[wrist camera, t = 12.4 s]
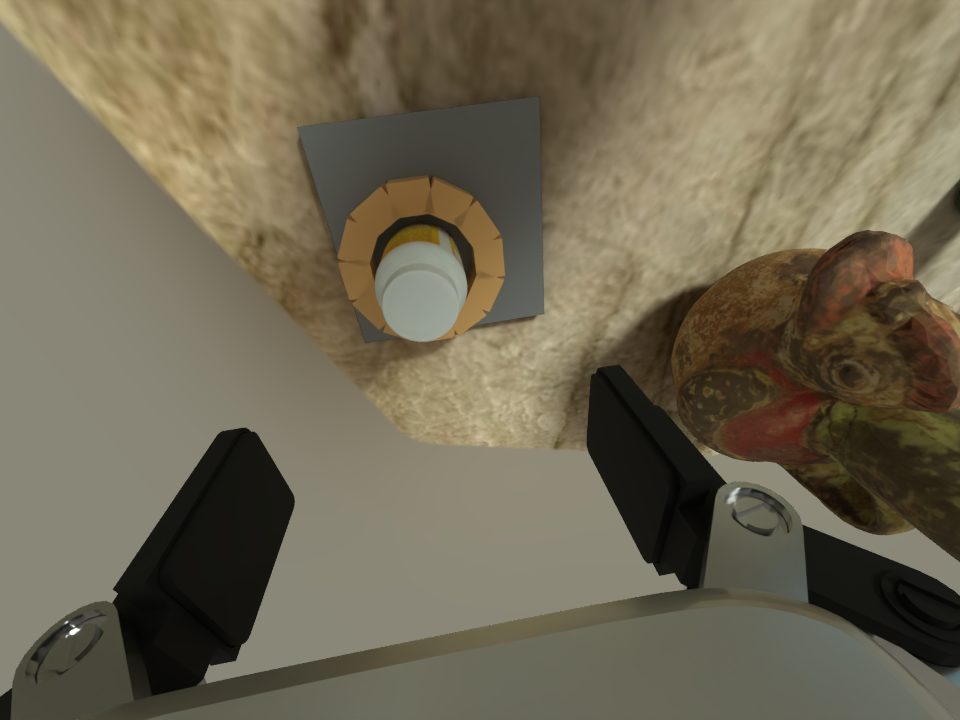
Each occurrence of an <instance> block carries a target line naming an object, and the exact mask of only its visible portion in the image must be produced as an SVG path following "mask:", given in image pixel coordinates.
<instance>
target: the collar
mask: <svg viewBox="0 0 960 720" xmlns="http://www.w3.org/2000/svg"><path fill="white" fill-rule="evenodd" d="M424 214H431V215H433V216H435V217H438V218H440V219H442V220H445V221H447V222H449V223H452V224H454V225H456V226H457V227H458V228H459V230H460V231H461V232H462V234H463V235H464V236H465V238H466V239H467V240H468V242H469V243H470V249H471V257H472V267H471V270H470V272H469V274H468V277H467V297H466V300H465V303H464V306H463V308H462V310H461V311H460V313H459V314H458V317H457V320H456V322H455V324H454V325H453V327H452V328H451V329H450V330H449V331H448V332H447V333H446V334H444V335H443V336H441V337H440V338H438V339H435V340H432V341H436V340H442V339H448V338H454V337H455V332H454V330H455V331H456V332H457V334H458V335H459V336H460V335H461V334H462V333H464V332H465V331H466V330H468V329H469V328H470V327H472V326H473V325H474V324H476V323H477V322H478V321H480V320H481V319H482V318H484V317H485V316H487V315H486V312H485V311H488V312H490V310H491V308H492V305H493V303H494V301H495V299H496V297H497V295H498V293H499V290H500V288H501V286H502V284H503V282H504V279H503V277H502V276H505V268H504V256H503V243H502V238H501V237H500V232H499V231H498V229H497V228H496V227H495V225H494V224H493V222H492V221H491V219H490V218H489V216H488V215H487V213H486V212H485V211H484V209H483V208H482V206H481V205H480V203H479V202H478V200H477V199H476V198H475V197H474V196H472V195H471V194H470V193H469V192H467V191H465V190H463V189H461V188H459V187H457V186H454V185H452V184H450V183H448V182H446V181H444V180H441V179H439V178H437V177H435V176H433V177H432V180H431V183H429V177H428V175H424V176H416V177H409V178H402V179H395V180H389V181H388V182H387V183H386V184H385V183H383V184H382V185H381V186H380V187H379V188H378V189H376V190H375V191H374V192H373V193H372V194H371V195H370V196H369V197H368V198H366V199H365V200H364V201H363V202H362V203H361V204H360V205H359V206H358V207H356V208H355V209H354V211H353V212H352V213H351V214H350V216H349V217H348V219H347V221H346V225H345V229H344V233H343V237H342V241H341V245H340V249H339V253H338V257H337V258H338V259H340V260H339V262H338V266H339V269H340V272H341V276H342V279H343V282H344V285H345V288H346V291H347V294H348V297H349V300H354V301H353V303H352V305H353V306H354V307H355V308H356V309H357V310H359V311H360V312H361V313H362V314H363V315H364V316H365V317H366V318H367V319H368V320H369V321H370V322H371V323H372V324H373V325H374V326H375V327H376V328H377V329H378V330H379V329H381V328H382V327H383V326H384V330H383V332H384V333H387V334H390V335H394V336H397V337H400V338H403V337H401V336H399V335H398V334H396V333H395V332H394V331H393V330H392V329H391V328H390V327H389V325H388V324H387V322H386V321H385V318H384V316H383V312H382V309H381V307H380V305H379V303H378V300H377V298H376V293H375V277H376V272H377V265H376V261H375V257H374V251H375V248H376V244H377V241H378V238H379V235H380V234H382V233H383V232H384V231H385V230H386V229H387V228H388V227H390V226H391V225H392V224H393V223H394V222H395V221H397V220H398V219H399V218H403V217H410V216H417V215H424ZM403 339H405V338H403ZM407 340H408V339H407ZM410 341H411V340H410ZM413 342H417V341H413ZM426 342H430V341H426ZM421 343H424V342H421Z"/></svg>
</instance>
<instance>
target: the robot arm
mask: <svg viewBox="0 0 960 720" xmlns="http://www.w3.org/2000/svg"><path fill="white" fill-rule="evenodd" d="M587 448H588V452H589V454H590V456H591V458H592V460H593V462H594V464H595V466H596V468H597V470H598V472H599V474H600V475H601V478H602V479H603V481H604V483H605V485H606V487H607V489H608V491H609V493H610V495H611V497H612V499H613V500H614V503H615V505H616V506H617V508H618V510H619V512H620V514H621V516H622V518H623V520H624V522H625V524H626V526H627V528H628V530H629V532H630V534H631V536H632V538H633V540H634V542H635V543H636V545H637V547H638V549H639V551H640V553H641V555H642V557H643V559H644V560H645V561H646V562H647V563H653V565H654V567H655V568H656V571H657V572H658V574H659V576H661V575H666V574H671V573H675V574H676V576H677V578H678V580H679V581H680V583H681V584H683V585H685V586H684V590H681V591H673V592H665V593H658V594H652V595H647V596H641V597H635V598H630V599H624V600H618V601H613V602H608V603H602V604H596V605H590V606H586V607H580V608H575V609H570V610H565V611H560V612H555V613H550V614H545V615H540V616H535V617H530V618H524V619H519V620H514V621H509V622H504V623H499V624H495V625H489V626H484V627H479V628H474V629H469V630H464V631H459V632H455V633H449V634H444V635H440V636H435V637H429V638H424V639H420V640H414V641H410V642H405V643H400V644H395V645H390V646H385V647H381V648H376V649H370V650H365V651H360V652H356V653H350V654H346V655H341V656H337V657H331V658H326V659H321V660H317V661H312V662H307V663H302V664H297V665H293V666H288V667H283V668H278V669H274V670H269V671H264V672H259V673H254V674H249V675H245V676H240V677H235V678H230V679H226V680H221V681H216V682H212V683H208V684H207V683H206V680H205V678H204V676H205V673H206V671H207V668H208V666H209V664H210V665H211V666H212V665H217V664H222V663H227V662H232V661H236V658H237V656H238V653H239V650H240V647H241V645H242V644H244V643H245V642H246V641H247V640H248V638H249V636H250V634H251V631H252V628H253V625H254V622H255V619H256V616H257V613H258V610H259V607H260V605H261V602H262V599H263V596H264V593H265V590H266V587H267V584H268V581H269V578H270V576H271V573H272V570H273V567H274V564H275V561H276V558H277V555H278V552H279V549H280V546H281V543H282V541H283V538H284V535H285V532H286V529H287V526H288V523H289V520H290V517H291V515H292V512H293V508H294V503H295V500H294V495H293V493H292V492H291V490H290V488H289V486H288V485H287V483H286V481H285V480H284V478H283V476H282V475H281V473H280V471H279V470H278V468H277V466H276V465H275V463H274V461H273V460H272V458H271V456H270V455H269V453H268V451H267V450H266V448H265V446H264V445H263V443H262V441H261V440H260V438H259V436H258V435H257V433H255V432H251V431H250V430H249V429H247V428H239V429H234V430H227V431H222V432H220V433H219V434H218V435H217V436H216V438H215V439H214V441H213V443H212V444H211V445H210V447H209V448H208V450H207V451H206V453H205V454H204V456H203V457H202V459H201V460H200V462H199V463H198V465H197V466H196V467H195V469H194V471H193V472H192V473H191V475H190V476H189V478H188V479H187V481H186V482H185V484H184V485H183V487H182V488H181V490H180V491H179V492H178V494H177V495H176V497H175V498H174V500H173V501H172V503H171V504H170V506H169V507H168V509H167V510H166V512H165V513H164V515H163V516H162V518H161V519H160V521H159V522H158V524H157V525H156V526H155V528H154V529H153V531H152V532H151V534H150V535H149V537H148V538H147V540H146V541H145V543H144V544H143V546H142V547H141V549H140V550H139V552H138V553H137V554H136V556H135V558H134V559H133V560H132V562H131V563H130V565H129V566H128V568H127V569H126V571H125V572H124V574H123V575H122V577H121V578H120V580H119V581H118V582H117V584H116V586H115V587H114V589H113V590H114V591H116V592H117V593H118V595H117V596H116V598H115V600H114V601H113V603H110V602H107V601H101V602H94V603H91V604H89V605H86V606H83V607H81V608H79V609H77V610H75V611H74V612H72V613H70V614H68V615H67V616H65V617H64V618H62V619H61V620H60V621H58V622H57V623H56V624H54V625H53V626H52V627H51V628H50V629H48V630H47V631H46V632H45V633H44V634H43V635H42V636H41V637H40V638H39V639H38V640H37V641H36V642H35V643H34V644H33V646H32V647H31V648H30V649H29V650H28V652H27V653H26V654H25V655H24V657H23V659H22V660H21V662H20V664H19V666H18V667H17V669H16V672H15V675H14V679H13V685H12V688H11V689H10V690H9V691H8V692H6V693H5V694H3V695H2V696H1V697H0V720H960V596H959V595H958V594H957V593H956V592H955V591H954V590H952V589H950V588H949V587H947V586H946V585H944V584H943V583H941V582H940V581H938V580H937V579H934V578H933V577H930V576H928V575H926V574H924V573H922V572H920V571H918V570H915V569H913V568H910V567H908V566H905V565H903V564H900V563H898V562H895V561H893V560H890V559H888V558H885V557H882V556H880V555H877V554H875V553H872V552H870V551H868V550H865V549H862V548H860V547H857V546H855V545H852V544H850V543H847V542H845V541H842V540H840V539H837V538H835V537H832V536H830V535H827V534H825V533H822V532H820V531H817V530H815V529H812V528H809V527H807V526H804V525H802V522H801V519H800V516H799V515H798V513H797V512H796V510H795V509H794V507H793V506H792V505H791V504H790V503H789V502H787V501H786V500H785V499H784V498H783V497H782V496H780V495H778V494H777V493H775V492H774V491H772V490H770V489H768V488H765V487H763V486H760V485H758V484H753V483H749V482H731V483H728V484H727V483H726V482H725V481H724V480H723V479H722V478H721V476H720V475H719V474H718V473H717V472H716V471H715V470H714V468H713V467H712V466H711V465H710V464H709V463H708V461H707V460H706V459H705V458H704V457H703V455H702V454H701V453H700V452H699V451H698V450H697V449H696V447H695V446H694V445H693V444H692V443H691V442H690V440H689V439H688V438H687V437H686V436H685V435H684V433H683V432H682V431H681V430H680V429H679V428H678V426H677V425H676V424H675V423H674V422H673V421H672V420H671V418H670V417H669V416H668V415H667V414H666V413H665V411H664V410H663V409H661V408H660V407H659V406H656V405H655V406H654V405H653V404H652V402H651V401H650V400H649V399H648V398H647V397H646V395H645V394H644V393H643V392H642V391H641V389H640V388H639V387H638V386H637V385H636V383H635V382H634V381H633V380H632V379H631V378H630V376H629V375H628V374H627V373H626V372H625V370H624V369H623V368H622V367H621V366H620V365H613V366H607V367H601V368H598V369H597V372H596V374H592V376H591V382H590V397H589V413H588V428H587Z"/></svg>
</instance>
